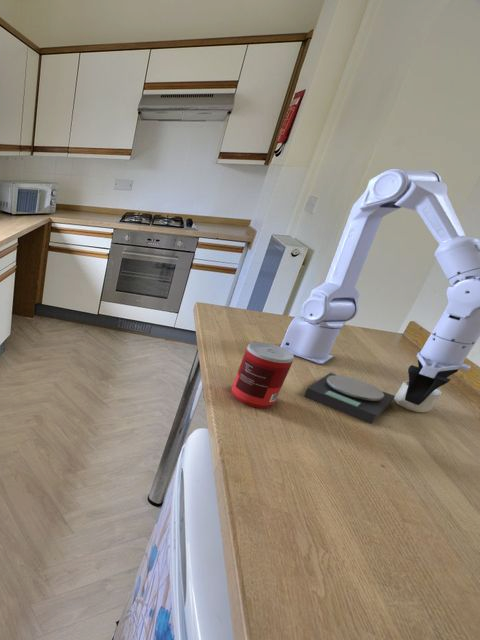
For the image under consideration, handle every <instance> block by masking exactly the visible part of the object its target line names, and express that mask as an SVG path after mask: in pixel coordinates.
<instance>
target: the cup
mask: <svg viewBox="0 0 480 640" xmlns="http://www.w3.org/2000/svg"><path fill="white" fill-rule="evenodd" d="M408 385H409V379H408V380H404V381H403V382H402V384H401V386H400V387H399V389H398V391H397V392H396V394H395V395H394V396H395V398H394V399H393V400H395V403H396V404H397V405H399V406H400V407H402V408H404V409H406V410H409V411H413V412H416V413H427V412H431V410H432V409H433V408H434V406H435V405H436V403H437V402H438V400H439V398H440V397H441V395H442V393H443V392H442V390H440V389H438V388H437V389H436V390H434V391H433V392H432V393H431V394H430V395H429V396H428V397H427V398H426V399H425V400H424V401H423V402H422V403H421V404H419V405H416V404H414V403H411V402H408V401H405V396H406V392H407V388H408Z"/></svg>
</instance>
